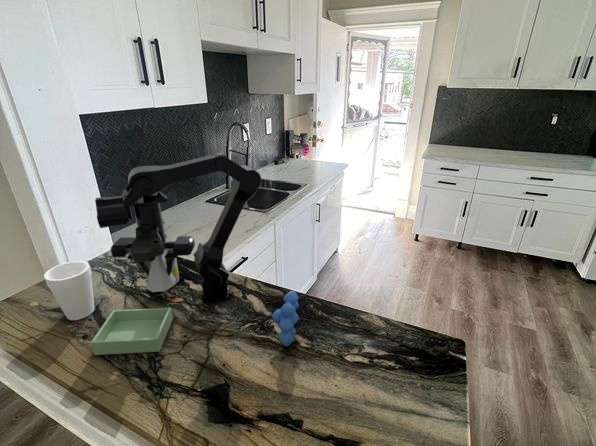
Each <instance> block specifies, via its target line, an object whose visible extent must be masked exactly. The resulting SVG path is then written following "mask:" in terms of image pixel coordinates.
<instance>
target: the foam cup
mask: <svg viewBox="0 0 596 446" xmlns="http://www.w3.org/2000/svg"><path fill="white" fill-rule="evenodd" d="M92 274H93V272H92V269H91V266H90V263H89V262H87V261H85V260H72V261H68V262H63V263H60V264H58V265H55V266H53V267H51V268H50V269H48V270H46V272H45V273H44V274H43V278H44V280H45V283H46V287H47V288H49V289H50V291H51V293H52V295H53V297H54V298H55V301H56V302H57V304H58V305H59V307H60V309H61V311H62V313H63V314H64V316H65V317H66V318H67V320H70V321H78V320H81V319H85V318H86V317H89V316H90V315H91V314H92V313H93V312H94V311H95V300H94V299H95V298H94V290H93V280H92Z"/></svg>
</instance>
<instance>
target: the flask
mask: <svg viewBox="0 0 596 446" xmlns="http://www.w3.org/2000/svg"><path fill="white" fill-rule="evenodd" d="M150 266H151V267H150V272H149V276H148V275H147V280H146V283H145V289H146V290H148V291H150V292H152V293H159V292H166V291H168V290H169V289H171V288H172V287H174V286H175V285H176V284H175V281H176V279H175V277H174V276H173V274H172V273H171V274H170V276H169V275H168V273H167V266H166V264H165V262H164V260H163V257H162V255H158V256H156V258H155V260H154V261H152V262H150ZM174 284H175V285H174Z"/></svg>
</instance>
